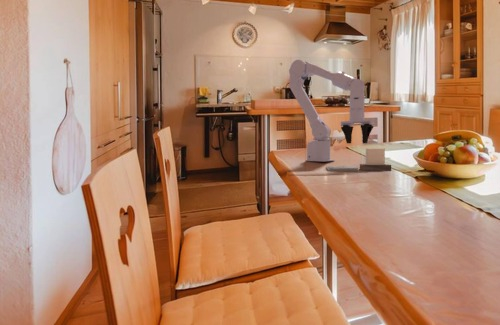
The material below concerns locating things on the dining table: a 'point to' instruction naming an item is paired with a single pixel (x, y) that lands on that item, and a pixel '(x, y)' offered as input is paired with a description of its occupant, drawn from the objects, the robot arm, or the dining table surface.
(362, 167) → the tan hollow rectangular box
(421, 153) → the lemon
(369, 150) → the tan rectangular post
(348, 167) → the tile
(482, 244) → the dining table surface
